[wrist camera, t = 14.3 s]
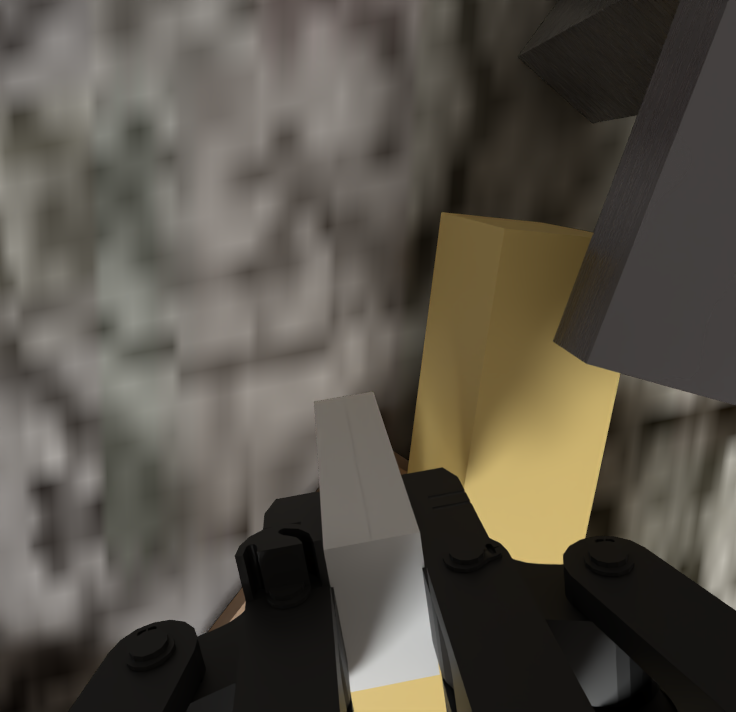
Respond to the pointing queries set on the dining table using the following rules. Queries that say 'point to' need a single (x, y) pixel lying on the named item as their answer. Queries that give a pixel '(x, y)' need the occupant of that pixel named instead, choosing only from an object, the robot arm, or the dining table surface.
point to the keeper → (655, 186)
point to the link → (506, 399)
